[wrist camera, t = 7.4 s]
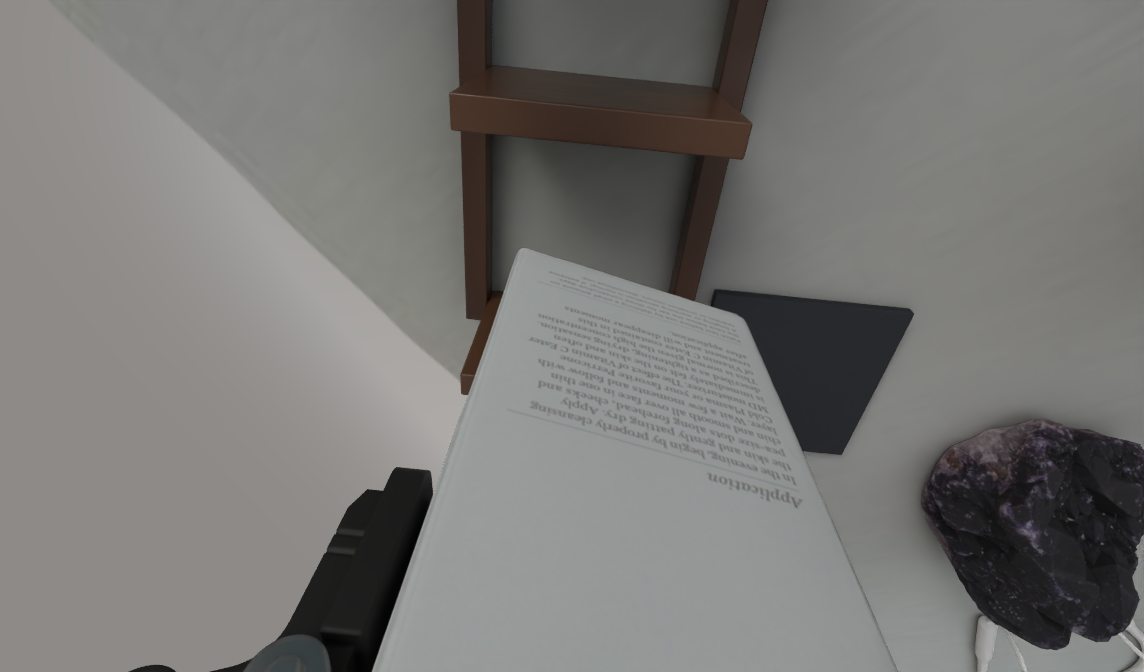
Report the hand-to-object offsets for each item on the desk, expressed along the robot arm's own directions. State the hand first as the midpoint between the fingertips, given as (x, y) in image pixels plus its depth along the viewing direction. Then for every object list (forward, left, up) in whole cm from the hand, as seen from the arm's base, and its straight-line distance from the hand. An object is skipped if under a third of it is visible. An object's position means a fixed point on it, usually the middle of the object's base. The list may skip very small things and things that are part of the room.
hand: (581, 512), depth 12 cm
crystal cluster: (-31, +16, -19) cm, 39 cm away
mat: (-13, +9, -19) cm, 24 cm away
